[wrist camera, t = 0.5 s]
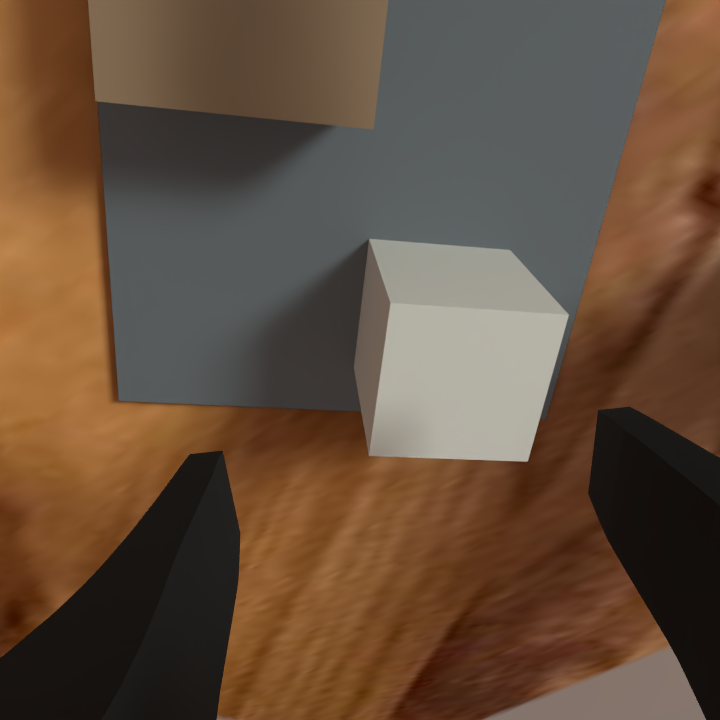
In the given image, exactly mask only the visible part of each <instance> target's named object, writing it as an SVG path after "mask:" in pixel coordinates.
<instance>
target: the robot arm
mask: <svg viewBox="0 0 720 720" xmlns="http://www.w3.org/2000/svg"><path fill="white" fill-rule="evenodd" d="M588 494H589V497H590V499H591V502H592V504H593V507H594V509H595V511H596V514H597V516H598V519H599V521H600V523H601V526H602V528H603V530H604V533H605V535H606V537H607V539H608V541H609V543H610V545H611V546H612V548H613V550H614V552H615V553H616V555H617V557H618V558H619V560H620V562H621V563H622V565H623V567H624V569H625V570H626V572H627V574H628V575H629V577H630V579H631V580H632V582H633V584H634V585H635V587H636V589H637V590H638V592H639V594H640V595H641V597H642V599H643V600H644V602H645V604H646V605H647V607H648V609H649V610H650V612H651V614H652V615H653V617H654V619H655V620H656V622H657V624H658V625H659V627H660V629H661V630H662V632H663V634H664V635H665V637H666V639H667V640H668V642H669V644H670V646H671V648H672V650H673V652H674V653H675V655H676V657H677V659H678V661H679V663H680V665H681V667H682V669H683V671H684V673H685V675H686V677H687V679H688V682H689V684H690V686H691V688H692V690H693V692H694V694H695V696H696V699H697V701H698V703H699V705H700V707H701V709H702V711H703V714H704V716H705V718H706V720H720V458H719V457H717V456H715V455H714V454H712V453H710V452H708V451H707V450H705V449H703V448H701V447H700V446H698V445H696V444H694V443H693V442H691V441H689V440H688V439H686V438H684V437H682V436H681V435H679V434H677V433H676V432H674V431H672V430H670V429H669V428H667V427H665V426H664V425H662V424H660V423H658V422H657V421H655V420H653V419H651V418H650V417H648V416H646V415H644V414H642V413H641V412H639V411H637V410H635V409H633V408H631V407H624V408H615V409H605V410H598V416H597V425H596V433H595V442H594V450H593V459H592V467H591V476H590V484H589V492H588ZM239 554H240V530H239V525H238V520H237V516H236V511H235V506H234V502H233V497H232V492H231V488H230V483H229V478H228V474H227V469H226V464H225V460H224V455H223V451H216V452H207V453H198V454H190V455H189V456H188V458H187V459H186V460H185V461H184V462H183V464H182V465H181V467H180V468H179V469H178V471H177V472H176V473H175V475H174V476H173V478H172V479H171V480H170V482H169V483H168V484H167V486H166V487H165V489H164V490H163V491H162V493H161V494H160V495H159V497H158V498H157V499H156V501H155V502H154V503H153V505H152V506H151V507H150V508H149V510H148V511H147V512H146V513H145V515H144V516H143V517H142V519H141V520H140V521H139V522H138V524H137V525H136V526H135V527H134V529H133V530H132V531H131V532H130V534H129V535H128V536H127V537H126V538H125V540H124V541H123V542H122V543H121V544H120V545H119V546H118V548H117V549H116V550H115V551H114V552H113V553H112V554H111V556H110V557H109V558H108V559H107V560H106V561H105V562H104V564H103V565H102V566H101V567H100V568H99V569H98V570H97V571H96V572H95V573H94V575H93V576H92V577H91V578H90V579H89V580H88V581H87V582H86V583H85V584H84V585H83V586H82V587H81V588H80V589H79V590H78V591H77V592H76V593H75V594H74V595H73V596H72V597H70V598H69V599H68V600H67V601H66V602H65V603H64V604H63V605H62V606H61V607H60V608H59V609H58V610H57V611H56V612H55V613H53V614H52V615H51V616H50V617H49V618H48V619H46V620H45V621H44V622H43V623H42V624H41V625H39V626H38V627H37V628H36V629H35V630H33V631H32V632H31V633H30V634H29V635H27V636H26V637H25V638H24V639H23V640H22V641H20V642H19V643H18V644H17V645H16V646H14V647H13V648H12V649H11V650H10V651H8V652H7V653H6V654H5V655H4V656H2V657H1V658H0V720H216V719H217V711H218V703H219V695H220V689H221V683H222V677H223V671H224V665H225V659H226V653H227V647H228V641H229V635H230V629H231V624H232V617H233V611H234V605H235V599H236V593H237V586H238V576H239Z"/></svg>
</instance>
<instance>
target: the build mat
mask: <svg viewBox="0 0 720 720" xmlns="http://www.w3.org/2000/svg"><path fill="white" fill-rule="evenodd" d="M665 1H666V0H388V8H387V17H386V26H385V34H384V43H383V52H382V61H381V70H380V78H379V87H378V96H377V105H376V114H375V122H374V129H364V128H354V127H344V126H334V125H325V124H315V123H305V122H295V121H285V120H275V119H265V118H256V117H246V116H236V115H226V114H216V113H206V112H197V111H187V110H177V109H167V108H157V107H147V106H138V105H128V104H118V103H108V102H98V115H99V129H100V143H101V157H102V171H103V185H104V199H105V214H106V228H107V242H108V256H109V270H110V284H111V298H112V312H113V326H114V340H115V354H116V368H117V382H118V396H119V401H130V402H153V403H175V404H198V405H220V406H243V407H265V408H288V409H310V410H333V411H356V412H361V407H360V401H359V395H358V389H357V383H356V378H355V372H354V361H355V353H356V344H357V336H358V328H359V319H360V311H361V303H362V294H363V286H364V278H365V269H366V261H367V252H368V244H369V239H379V240H391V241H404V242H416V243H429V244H442V245H454V246H467V247H479V248H492V249H505V250H511V251H512V253H513V254H514V255H515V256H516V257H517V258H518V259H519V260H520V261H521V262H522V264H523V265H524V266H525V267H526V268H527V269H528V270H529V271H530V272H531V273H532V275H533V276H534V277H535V278H536V279H537V280H538V281H539V282H540V283H541V285H542V286H543V287H544V288H545V289H546V290H547V291H548V292H549V293H550V294H551V296H552V297H553V298H554V299H555V300H556V301H557V302H558V303H559V304H560V305H561V307H562V308H563V309H564V310H565V311H566V312H567V313H568V314H569V316H568V320H567V324H566V327H565V331H564V334H563V338H562V341H561V345H560V349H559V352H558V356H557V359H556V363H555V366H554V370H553V374H552V377H551V381H550V384H549V388H548V391H547V395H546V398H545V402H544V406H543V409H542V413H541V416H540V420H546V417H547V414H548V410H549V407H550V403H551V400H552V396H553V393H554V389H555V386H556V382H557V379H558V375H559V372H560V368H561V365H562V361H563V358H564V354H565V351H566V347H567V344H568V340H569V337H570V333H571V330H572V326H573V323H574V319H575V316H576V312H577V309H578V305H579V302H580V298H581V295H582V291H583V288H584V284H585V281H586V277H587V274H588V270H589V267H590V263H591V260H592V256H593V253H594V249H595V246H596V242H597V239H598V235H599V232H600V228H601V225H602V221H603V218H604V214H605V211H606V207H607V204H608V200H609V197H610V193H611V190H612V186H613V183H614V179H615V176H616V172H617V169H618V165H619V162H620V158H621V155H622V151H623V148H624V144H625V141H626V137H627V134H628V130H629V127H630V123H631V120H632V116H633V113H634V109H635V106H636V102H637V99H638V95H639V92H640V88H641V85H642V81H643V78H644V74H645V71H646V67H647V64H648V60H649V57H650V53H651V50H652V46H653V43H654V39H655V36H656V32H657V29H658V25H659V22H660V18H661V15H662V11H663V8H664V4H665Z"/></svg>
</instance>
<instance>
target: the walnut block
mask: <svg viewBox="0 0 720 720" xmlns="http://www.w3.org/2000/svg"><path fill="white" fill-rule="evenodd" d="M88 8H89V22H90V36H91V49H92V63H93V77H94V91H95V101H98V102H108V103H118V104H128V105H138V106H147V107H157V108H167V109H177V110H187V111H197V112H206V113H216V114H226V115H236V116H246V117H256V118H265V119H275V120H285V121H295V122H305V123H315V124H325V125H334V126H344V127H354V128H364V129H374V122H375V114H376V105H377V96H378V87H379V78H380V70H381V61H382V52H383V43H384V34H385V26H386V17H387V8H388V0H88Z"/></svg>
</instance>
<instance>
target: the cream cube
mask: <svg viewBox="0 0 720 720" xmlns="http://www.w3.org/2000/svg"><path fill="white" fill-rule="evenodd" d="M568 316H569V314H568V313H567V312H566V311H565V310H564V309H563V308H562V307H561V305H560V304H559V303H558V302H557V301H556V300H555V299H554V298H553V297H552V296H551V294H550V293H549V292H548V291H547V290H546V289H545V288H544V287H543V286H542V285H541V283H540V282H539V281H538V280H537V279H536V278H535V277H534V276H533V275H532V273H531V272H530V271H529V270H528V269H527V268H526V267H525V266H524V265H523V264H522V262H521V261H520V260H519V259H518V258H517V257H516V256H515V255H514V254H513V253H512V251H511V250H505V249H492V248H479V247H467V246H454V245H442V244H429V243H416V242H404V241H391V240H379V239H369V244H368V252H367V261H366V269H365V278H364V286H363V294H362V303H361V311H360V319H359V328H358V336H357V344H356V353H355V361H354V372H355V378H356V383H357V389H358V395H359V401H360V407H361V413H362V419H363V424H364V430H365V436H366V442H367V448H368V454H369V456H383V457H411V458H440V459H468V460H496V461H524V462H528V459H529V456H530V452H531V448H532V445H533V441H534V438H535V434H536V431H537V427H538V423H539V420H540V416H541V413H542V409H543V406H544V402H545V398H546V395H547V391H548V388H549V384H550V381H551V377H552V374H553V370H554V366H555V363H556V359H557V356H558V352H559V349H560V345H561V341H562V338H563V334H564V331H565V327H566V324H567V320H568Z"/></svg>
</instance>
